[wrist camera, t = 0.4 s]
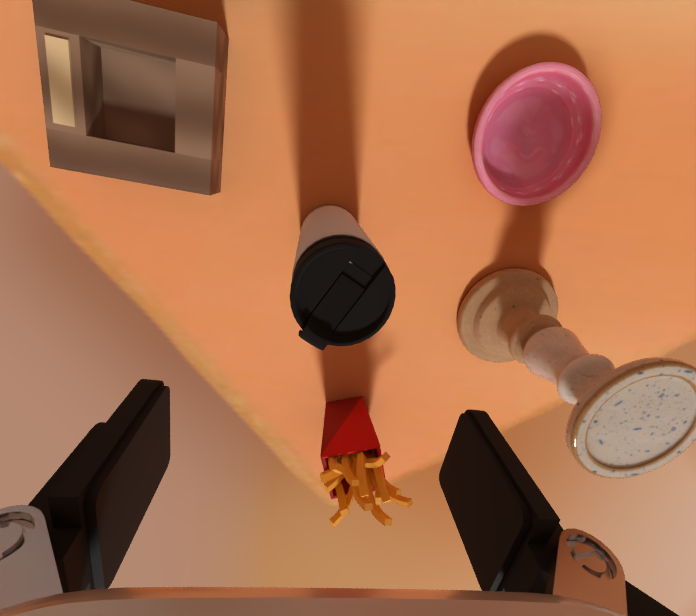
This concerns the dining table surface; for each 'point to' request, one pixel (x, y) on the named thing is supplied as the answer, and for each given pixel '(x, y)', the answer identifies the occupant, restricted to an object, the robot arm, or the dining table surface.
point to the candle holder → (584, 377)
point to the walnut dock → (133, 92)
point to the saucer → (536, 133)
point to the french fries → (355, 461)
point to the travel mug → (339, 281)
